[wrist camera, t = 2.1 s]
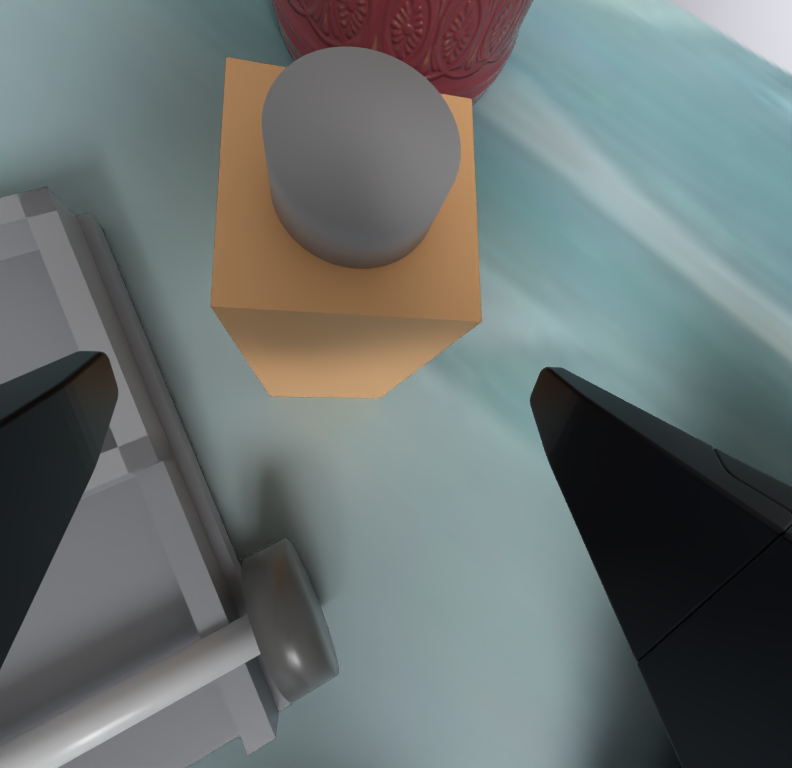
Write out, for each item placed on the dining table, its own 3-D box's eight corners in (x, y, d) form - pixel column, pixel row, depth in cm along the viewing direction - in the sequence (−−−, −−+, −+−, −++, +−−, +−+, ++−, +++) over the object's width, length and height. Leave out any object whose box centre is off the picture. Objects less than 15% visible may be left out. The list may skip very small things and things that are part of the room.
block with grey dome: (379, 398, 20) (518, 293, 7) (270, 396, 19) (186, 269, 6) (379, 297, 21) (502, 31, 8) (274, 290, 20) (208, -32, 7)
